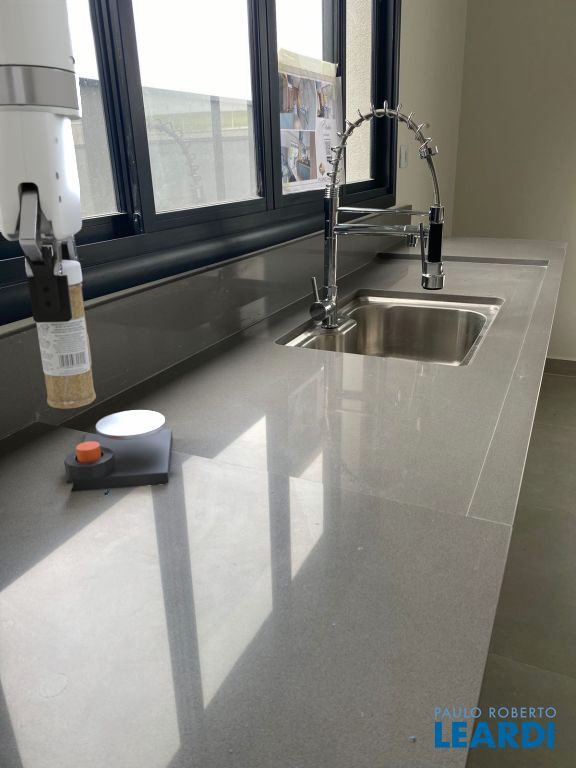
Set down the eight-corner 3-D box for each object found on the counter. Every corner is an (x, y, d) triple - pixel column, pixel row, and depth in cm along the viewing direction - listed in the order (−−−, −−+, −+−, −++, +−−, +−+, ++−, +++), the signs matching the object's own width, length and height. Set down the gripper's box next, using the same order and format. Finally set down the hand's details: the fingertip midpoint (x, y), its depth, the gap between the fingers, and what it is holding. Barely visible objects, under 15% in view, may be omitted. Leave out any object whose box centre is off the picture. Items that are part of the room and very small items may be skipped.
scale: (64, 494, 73) (60, 468, 71) (84, 445, 86) (81, 422, 85) (168, 486, 74) (166, 460, 73) (172, 439, 88) (171, 417, 87)
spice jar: (95, 392, 61) (79, 257, 57) (97, 407, 57) (80, 263, 53) (47, 397, 60) (27, 260, 56) (45, 413, 56) (24, 266, 52)
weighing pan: (91, 449, 76) (90, 437, 76) (102, 422, 85) (101, 412, 84) (164, 444, 78) (163, 432, 77) (167, 418, 86) (166, 408, 86)
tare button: (75, 464, 73) (73, 451, 73) (79, 454, 76) (78, 441, 75) (99, 462, 74) (97, 449, 73) (102, 453, 76) (101, 440, 76)
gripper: (15, 109, 58) (41, 299, 63) (-58, 82, 42) (-14, 339, 47) (96, 110, 58) (115, 297, 64) (55, 83, 43) (84, 335, 48)
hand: (60, 313), depth 56 cm, fingers closed on spice jar, 4 cm apart
